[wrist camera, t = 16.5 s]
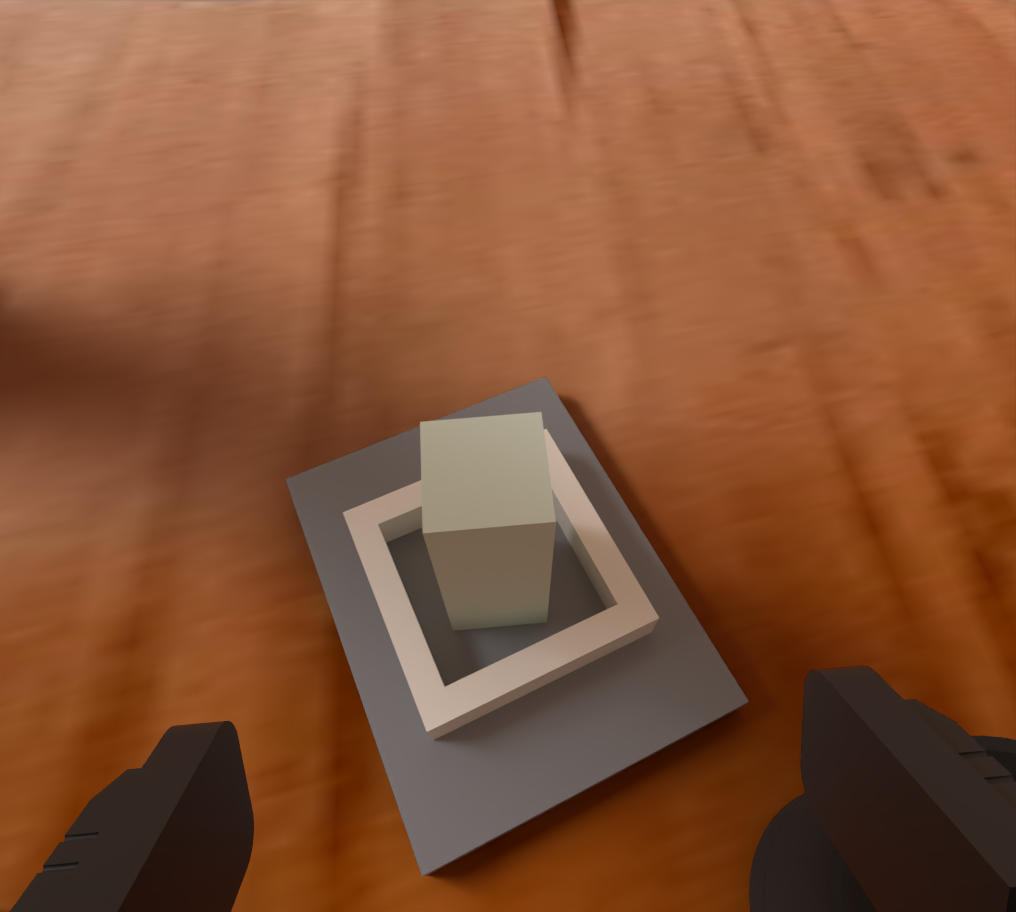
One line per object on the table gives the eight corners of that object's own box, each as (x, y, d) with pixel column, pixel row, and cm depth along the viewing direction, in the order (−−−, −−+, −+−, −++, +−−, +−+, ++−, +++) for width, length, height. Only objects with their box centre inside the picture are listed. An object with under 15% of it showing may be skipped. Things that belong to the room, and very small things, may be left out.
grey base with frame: (294, 493, 34) (272, 457, 31) (545, 393, 37) (546, 352, 34) (427, 875, 26) (414, 877, 23) (738, 708, 29) (763, 690, 26)
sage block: (546, 622, 29) (555, 521, 21) (452, 630, 29) (422, 533, 20) (536, 536, 31) (541, 411, 23) (449, 543, 31) (420, 421, 22)
